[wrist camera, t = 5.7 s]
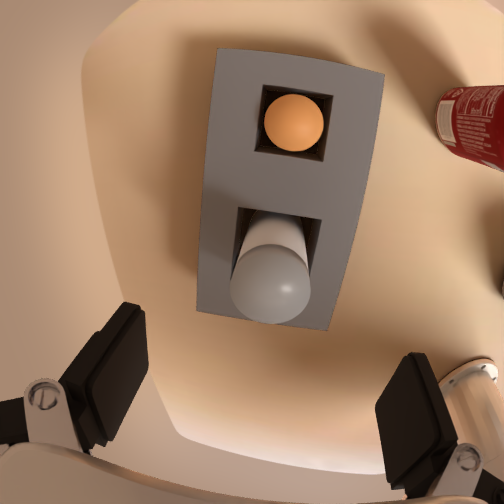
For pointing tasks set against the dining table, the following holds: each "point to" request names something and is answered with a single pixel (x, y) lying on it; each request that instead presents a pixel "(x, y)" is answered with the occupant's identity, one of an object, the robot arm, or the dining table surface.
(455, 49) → the dining table surface
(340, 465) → the dining table surface
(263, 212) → the cylinder
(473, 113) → the soda can
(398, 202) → the dining table surface
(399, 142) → the dining table surface
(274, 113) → the brown egg
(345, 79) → the housing
